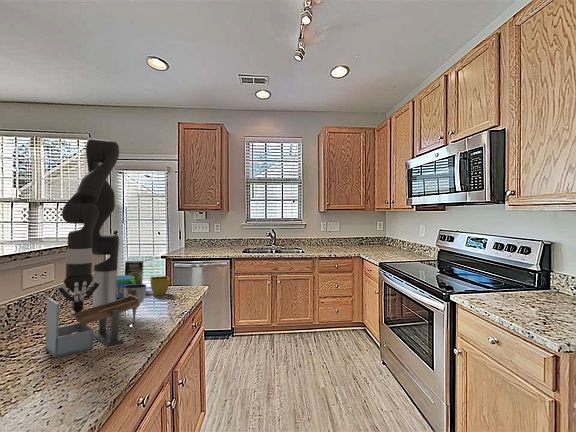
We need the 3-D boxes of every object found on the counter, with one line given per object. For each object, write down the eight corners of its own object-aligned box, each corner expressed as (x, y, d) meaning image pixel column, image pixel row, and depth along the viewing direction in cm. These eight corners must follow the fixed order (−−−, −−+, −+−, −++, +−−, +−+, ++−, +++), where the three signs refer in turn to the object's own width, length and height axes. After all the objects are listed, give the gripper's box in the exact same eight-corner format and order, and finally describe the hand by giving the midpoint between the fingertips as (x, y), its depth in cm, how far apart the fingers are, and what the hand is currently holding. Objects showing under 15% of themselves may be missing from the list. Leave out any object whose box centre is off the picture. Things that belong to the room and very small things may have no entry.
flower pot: (150, 297, 172) (151, 279, 171) (149, 293, 179) (149, 276, 179) (169, 296, 176) (169, 278, 176) (166, 292, 183) (167, 275, 183)
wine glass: (136, 328, 126) (137, 288, 126) (117, 326, 127) (119, 287, 127) (149, 322, 134) (150, 284, 134) (131, 320, 135) (132, 283, 135)
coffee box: (123, 292, 179) (124, 262, 179) (124, 290, 185) (125, 260, 185) (142, 291, 183) (143, 262, 183) (142, 289, 189) (143, 260, 189)
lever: (68, 315, 115) (67, 306, 115) (122, 298, 129) (121, 290, 128) (83, 325, 106) (82, 316, 106) (139, 306, 119) (138, 298, 119)
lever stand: (92, 336, 117) (93, 304, 117) (107, 332, 121) (108, 302, 121) (107, 346, 109) (108, 312, 109) (123, 342, 112) (124, 309, 112)
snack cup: (142, 297, 172) (142, 277, 172) (124, 301, 162) (125, 280, 162) (120, 293, 178) (120, 274, 178) (102, 297, 168) (102, 277, 168)
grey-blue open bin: (45, 348, 106) (47, 297, 106) (81, 340, 113) (83, 292, 113) (55, 358, 99) (56, 304, 99) (92, 348, 107) (94, 298, 107)
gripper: (96, 258, 122) (94, 306, 122) (53, 261, 112) (51, 313, 112) (104, 261, 117) (102, 310, 117) (60, 264, 107) (58, 318, 107)
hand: (77, 311), depth 115 cm, fingers closed
